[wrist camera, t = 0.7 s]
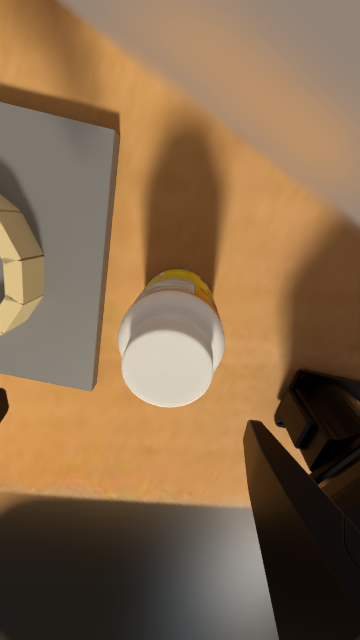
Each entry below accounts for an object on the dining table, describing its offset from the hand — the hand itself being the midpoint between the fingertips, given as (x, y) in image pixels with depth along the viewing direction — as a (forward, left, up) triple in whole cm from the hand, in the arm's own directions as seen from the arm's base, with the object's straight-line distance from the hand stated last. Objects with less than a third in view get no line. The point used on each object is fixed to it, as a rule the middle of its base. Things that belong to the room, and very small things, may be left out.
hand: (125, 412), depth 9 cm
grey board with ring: (+15, -1, -12) cm, 19 cm away
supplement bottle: (-1, -1, -12) cm, 12 cm away
